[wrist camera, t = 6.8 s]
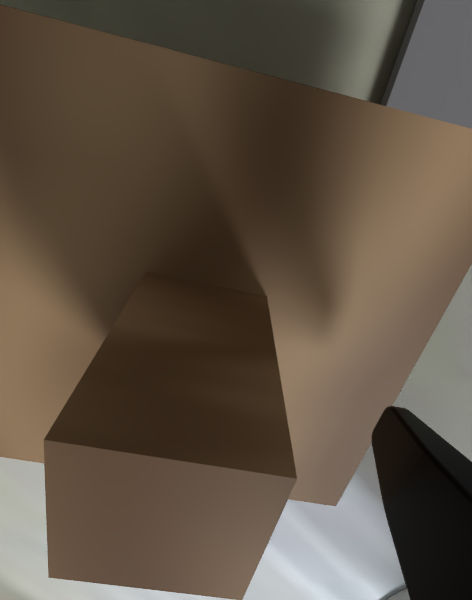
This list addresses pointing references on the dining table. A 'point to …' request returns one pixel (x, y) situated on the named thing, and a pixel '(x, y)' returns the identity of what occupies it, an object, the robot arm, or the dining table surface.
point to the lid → (204, 294)
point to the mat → (435, 63)
